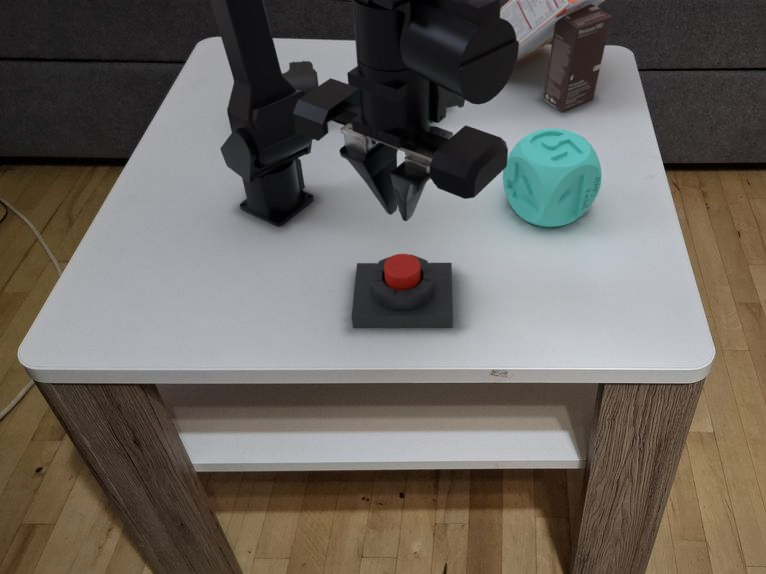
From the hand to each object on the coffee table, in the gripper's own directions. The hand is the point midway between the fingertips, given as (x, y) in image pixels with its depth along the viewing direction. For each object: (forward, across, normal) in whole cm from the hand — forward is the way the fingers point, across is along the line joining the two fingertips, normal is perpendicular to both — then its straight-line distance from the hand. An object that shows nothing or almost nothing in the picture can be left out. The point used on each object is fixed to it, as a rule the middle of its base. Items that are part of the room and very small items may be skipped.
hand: (400, 215), depth 70 cm
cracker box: (+9, +18, -50) cm, 54 cm away
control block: (+11, 0, 0) cm, 11 cm away
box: (+11, +4, -45) cm, 47 cm away
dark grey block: (+11, +34, -20) cm, 41 cm away
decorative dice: (+11, -5, -22) cm, 25 cm away
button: (+8, 0, 0) cm, 8 cm away
